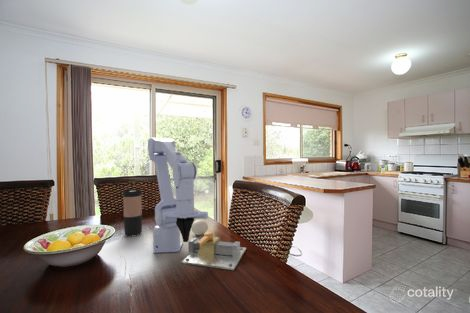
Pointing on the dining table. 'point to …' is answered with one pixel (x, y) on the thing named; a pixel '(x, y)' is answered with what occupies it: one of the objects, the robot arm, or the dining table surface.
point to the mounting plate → (214, 260)
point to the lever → (203, 240)
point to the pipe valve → (216, 247)
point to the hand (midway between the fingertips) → (186, 240)
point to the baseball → (199, 227)
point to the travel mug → (132, 212)
